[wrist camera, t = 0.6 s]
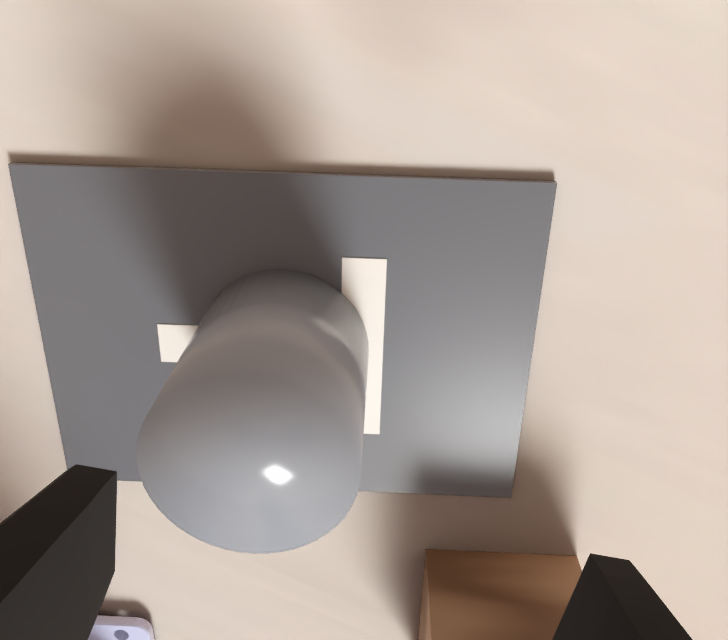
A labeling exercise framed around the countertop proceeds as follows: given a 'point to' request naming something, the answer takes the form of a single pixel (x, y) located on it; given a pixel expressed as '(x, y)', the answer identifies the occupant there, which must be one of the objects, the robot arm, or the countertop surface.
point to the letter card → (307, 255)
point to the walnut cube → (494, 595)
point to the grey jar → (262, 417)
